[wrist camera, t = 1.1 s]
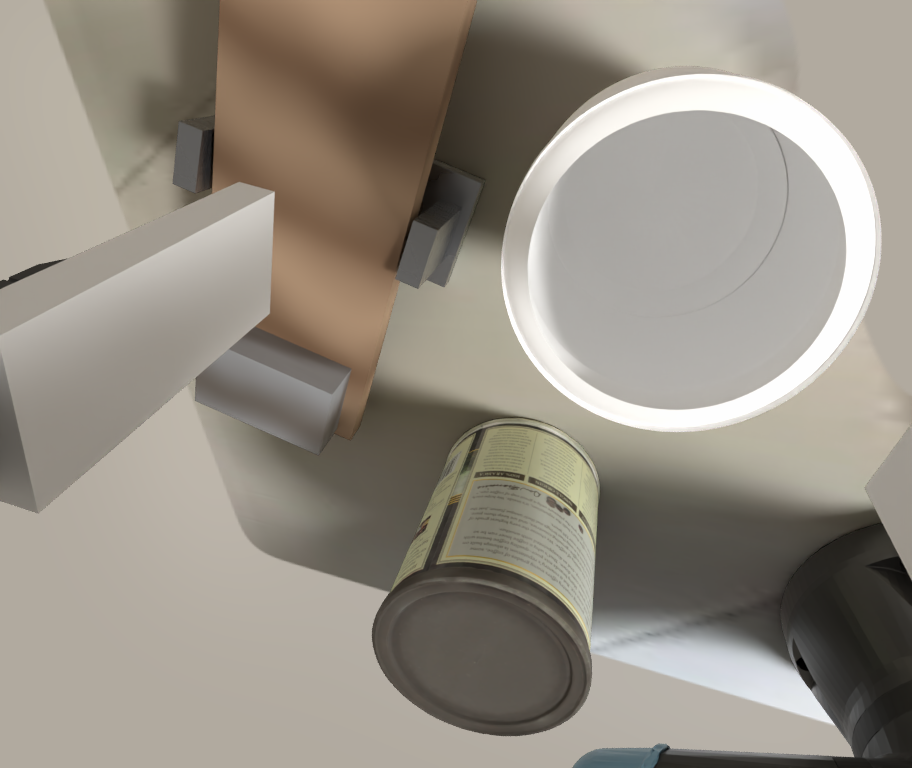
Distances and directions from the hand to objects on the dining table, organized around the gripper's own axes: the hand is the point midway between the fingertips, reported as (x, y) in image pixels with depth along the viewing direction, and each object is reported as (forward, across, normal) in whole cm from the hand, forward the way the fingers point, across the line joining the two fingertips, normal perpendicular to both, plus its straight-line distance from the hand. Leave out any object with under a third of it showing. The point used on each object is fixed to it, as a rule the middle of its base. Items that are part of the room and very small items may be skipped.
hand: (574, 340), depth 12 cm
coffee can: (+21, -2, +21) cm, 30 cm away
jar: (+22, -3, +1) cm, 22 cm away
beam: (+17, +13, +5) cm, 22 cm away
